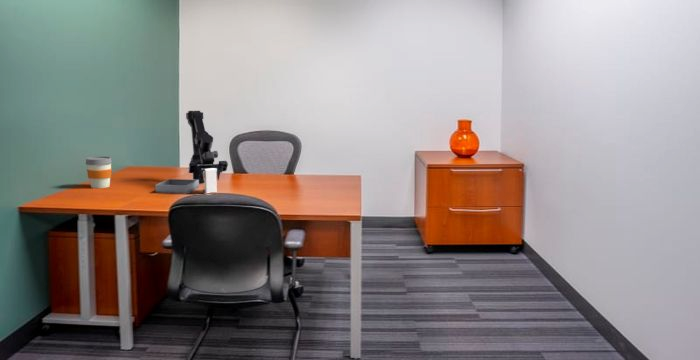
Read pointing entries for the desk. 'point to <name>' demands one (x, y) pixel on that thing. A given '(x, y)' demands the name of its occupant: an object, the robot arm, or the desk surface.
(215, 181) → the cream block
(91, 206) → the desk surface
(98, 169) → the reusable coffee cup
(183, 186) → the tray
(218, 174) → the robot arm
